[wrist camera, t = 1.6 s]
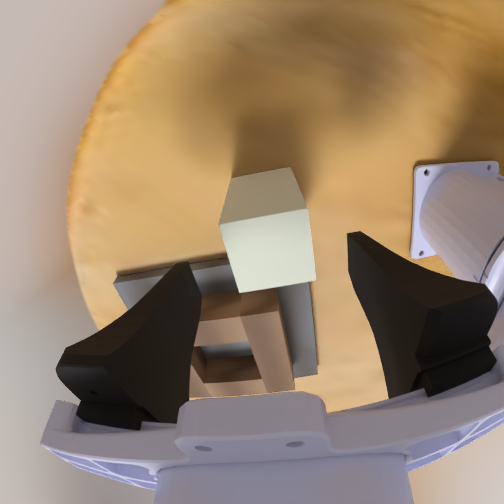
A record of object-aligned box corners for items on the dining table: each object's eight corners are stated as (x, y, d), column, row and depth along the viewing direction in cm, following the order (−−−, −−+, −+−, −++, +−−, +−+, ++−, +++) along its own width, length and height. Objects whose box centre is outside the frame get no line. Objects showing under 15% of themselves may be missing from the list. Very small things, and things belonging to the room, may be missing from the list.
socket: (302, 244, 21) (311, 276, 18) (316, 367, 29) (321, 397, 26) (117, 276, 23) (99, 306, 20) (181, 380, 31) (176, 407, 28)
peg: (290, 166, 18) (307, 208, 12) (299, 220, 20) (316, 280, 14) (231, 178, 19) (218, 224, 13) (244, 230, 21) (239, 292, 15)
